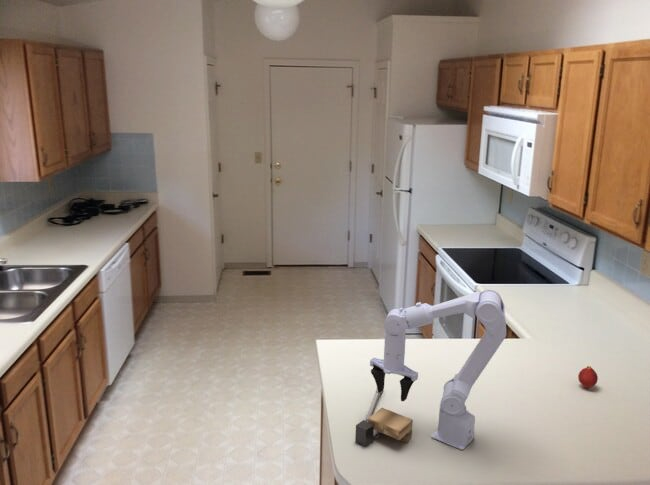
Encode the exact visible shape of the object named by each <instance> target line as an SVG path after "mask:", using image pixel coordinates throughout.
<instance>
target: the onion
mask: <svg viewBox="0 0 650 485" xmlns="http://www.w3.org/2000/svg"><path fill="white" fill-rule="evenodd" d="M577 378H578V381H579V383H580V384H581V385H582V386H583V387H584V388H585V389H589V388H593V387H594V386H595V385H596V384H597V383H598V380H599V378H598V374H597V372H596V371H595V370H594V369H593V368H592V366H591V365H588V366H586V367H585V368H582V369H581V370H580V371H579V373H578V377H577Z"/></svg>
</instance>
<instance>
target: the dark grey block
mask: <svg viewBox="0 0 650 485" xmlns="http://www.w3.org/2000/svg"><path fill="white" fill-rule="evenodd" d="M380 436H382V433H381V432H379V431H376V430H374V425H373V424H371V423H369V422H367V421H366V419H362V420H361V421H360V422H358V423H357V424H356V425H355V438H354V441H355V442H354V443H355V444H357V445H359V446H361V447H363V448H365V449H366V448H367V447H369V446H370V445H371V444H372V443H373V442H374V440H376V439H377V438H379V437H380Z"/></svg>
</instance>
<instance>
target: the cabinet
mask: <svg viewBox="0 0 650 485" xmlns="http://www.w3.org/2000/svg"><path fill="white" fill-rule="evenodd" d="M413 421H414V420H413V418H412V419H411V418H410V417H407V416H404V415H402V414H399V413H397V412H394V411H392V410H390V409H386V408H384V407H381V408H379V409H378V410H377V411H376V412H373V414H372V416H370V417H369V418H368V422H369V423H371V424H373V425H374V430H376V431H379V432H381V434H385V435H386V436H388V437H391V438H393V439H396V440H397V441H402V442H404V443H407V444H408V443H409V442H410V441H412V436H413V435H412V434H413Z"/></svg>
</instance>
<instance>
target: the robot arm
mask: <svg viewBox="0 0 650 485" xmlns="http://www.w3.org/2000/svg"><path fill="white" fill-rule="evenodd" d="M505 307H506V306H505V303H504V301H503V299H502V297H501V295H500V294H499V292H497V291H496V290H494V289H484V290H483V291H474V292H472V293H469V294H466V295H463V296H460V297H455V298H454V299H451V300H447V301H444V302H439V303H438V304H434V305H431V304H429V303H426V302H425V303H422V302H421V301H420V302H416V303H415V305H413V306H410V307H405V308H404V307H400V308H393V309H391V310H389V312H388V313H387V316H386V318H385V319H384V322H383V327H384V329H385V335H384V346H383V347H384V348H383V358H377V357H372V358H370V359H369V360H370V362H369V366H370V367H372V369H370V373H371V376H372V377H373V379H374V382H375V385H376V389H378V392H379V393H380V392H382V391H383V392H384V390H385V378H386V374H387V375H390V374H393V375H398V376H402V377H403V378H402V379H400V380H399V384H400V401H401V402H405V401H406V400H407V398H408V396H409V392H410V390H411V387H412V386H413V385H414V384H413V383H414V382H415V381H417V380H418V379H419V372H418V371H415V370H413V369H411V368H410V367H408V366H407V365H406V364H405V354H406V339H407V338H406V330H411V329H414V328H415V329H416V328H420V327H423V326H427V325H431V324H432V323H433V322H434V320H435V319H438V318H442V317H447V316H452V315H453V316H454V315H459V314H465V315H467V316H468V317H470V318H472V319H474V318H475V315H476V318H477V319H478V321H479V322H480V323H481V324H482V325H483V327H484V329H485V332H484V333H483V335H482V336H481V338H480V339H479V341H478V343H476V346H475V347H474V349H472V352H471V353H470V355H469V356H468V358H467V359H466V361H465V363H464V364H463V366H462V367H461V368H460V370H459V371H458V373H455V374H454V376H453V377H452V378H451V379H449V380H448V381H446V382H445V384H444V386H443V391H442V397H441V400H440V403H439V411H438V423H437V424H438V425H437V430H436V431H435V432H434V433H433V434H432V435H431V438H432V439H434V440H436V441H439V442H442V443H444V444H446V445H449V446H452V447H454V448H457V449H459V450H460V451H461V450H462V451H463V450H464V449H465V448H466V447H467V446H468V445H469V444H470V443H471V442H472V441H473V439H474V438H475V435H474V434H475V433H474V432H475V422H476V417H475V415H474V414H472V413H471V412H470V411H469V410H468V409H467V406H466V404H465V403H466V401H467V399H468V397H469V395H470V392H471V390H472V388H473V387H474V385H475V384H476V381H478V380H479V377H480V376H481V374H482V373H483V372H484V370H485V368H486V367H487V366H488V364H489V362H490V361H491V359H492V358H493V357H494V355H495V353H496V352H497V350H499V348H500V346H501V345H502V343H503V341H504V340H505V339H506V337H507V322H506V320H507V319H506V310H505ZM383 392H382V393H383Z"/></svg>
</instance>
